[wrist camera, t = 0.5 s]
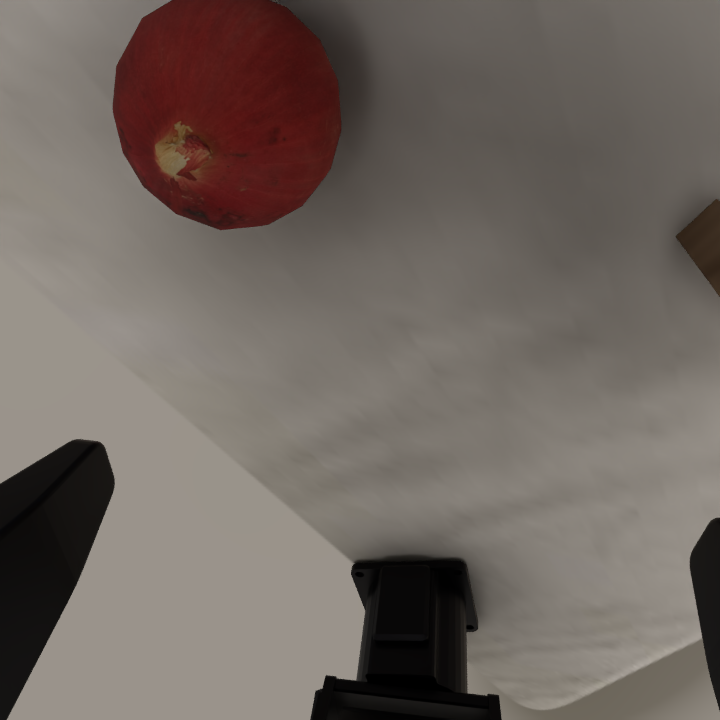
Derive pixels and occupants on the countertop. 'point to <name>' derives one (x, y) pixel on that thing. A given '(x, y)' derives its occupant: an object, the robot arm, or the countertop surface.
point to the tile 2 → (705, 243)
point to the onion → (227, 110)
